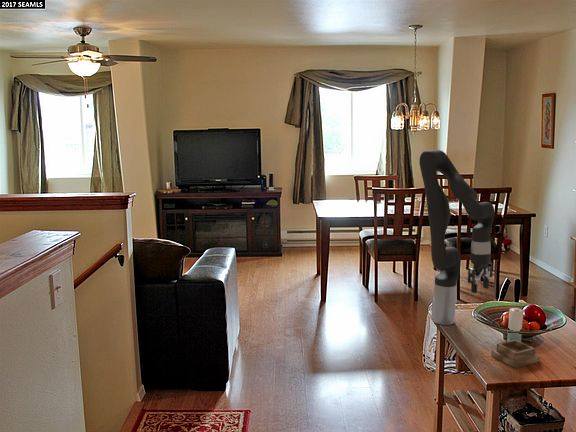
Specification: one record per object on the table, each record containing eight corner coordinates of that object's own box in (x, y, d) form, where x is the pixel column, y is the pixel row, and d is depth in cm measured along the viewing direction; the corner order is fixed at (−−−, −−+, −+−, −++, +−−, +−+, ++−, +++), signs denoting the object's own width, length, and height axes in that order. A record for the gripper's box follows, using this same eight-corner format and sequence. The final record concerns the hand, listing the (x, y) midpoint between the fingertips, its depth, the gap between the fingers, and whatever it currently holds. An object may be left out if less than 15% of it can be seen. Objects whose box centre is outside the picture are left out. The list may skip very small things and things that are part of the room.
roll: (504, 342, 233) (506, 308, 230) (513, 340, 235) (516, 306, 232) (514, 347, 229) (516, 313, 226) (523, 344, 231) (526, 310, 228)
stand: (491, 355, 222) (492, 343, 221) (514, 349, 227) (515, 337, 226) (515, 368, 211) (516, 355, 210) (539, 361, 216) (540, 349, 215)
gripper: (482, 247, 243) (481, 285, 245) (462, 253, 234) (462, 292, 236) (498, 250, 237) (497, 288, 240) (479, 256, 228) (478, 296, 231)
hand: (480, 290), depth 238 cm, fingers open, 8 cm apart
